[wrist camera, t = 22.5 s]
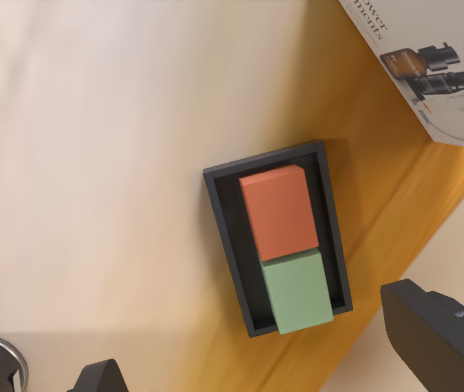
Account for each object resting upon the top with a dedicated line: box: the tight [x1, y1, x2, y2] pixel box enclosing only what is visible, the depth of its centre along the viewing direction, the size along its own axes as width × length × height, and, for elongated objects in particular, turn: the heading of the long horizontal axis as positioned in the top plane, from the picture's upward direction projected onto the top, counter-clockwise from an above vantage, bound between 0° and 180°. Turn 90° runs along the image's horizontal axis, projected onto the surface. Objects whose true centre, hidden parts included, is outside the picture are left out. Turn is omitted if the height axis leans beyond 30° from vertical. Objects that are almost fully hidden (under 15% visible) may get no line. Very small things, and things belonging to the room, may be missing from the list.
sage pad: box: [257, 247, 334, 335], centre depth 33 cm, size 6×8×4 cm
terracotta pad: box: [239, 163, 319, 261], centre depth 31 cm, size 6×8×4 cm
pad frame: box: [203, 140, 353, 338], centre depth 33 cm, size 12×19×2 cm, turn 14°
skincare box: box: [338, 0, 464, 146], centre depth 23 cm, size 21×5×16 cm, turn 42°
